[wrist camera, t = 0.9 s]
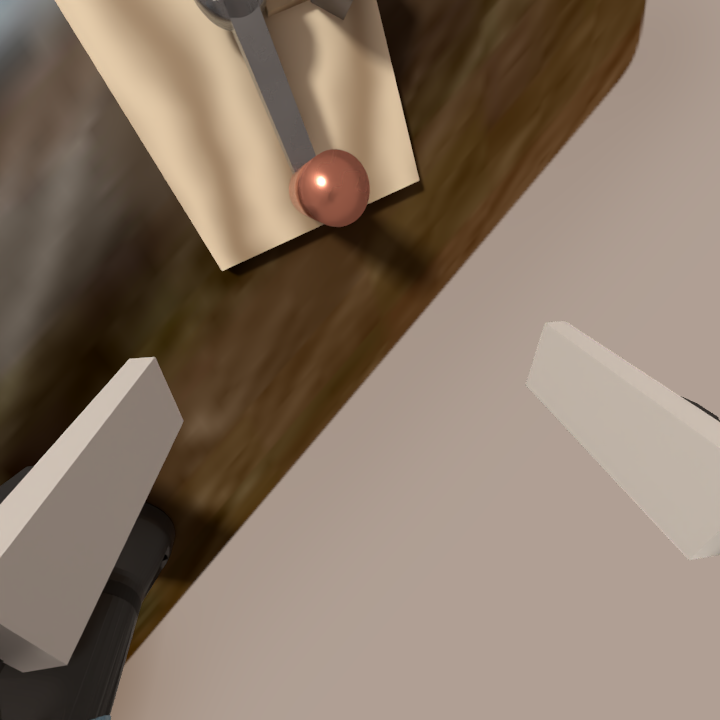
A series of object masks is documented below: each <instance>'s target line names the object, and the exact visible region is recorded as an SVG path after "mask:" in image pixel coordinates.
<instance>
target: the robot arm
mask: <svg viewBox="0 0 720 720" xmlns="http://www.w3.org/2000/svg"><path fill="white" fill-rule="evenodd" d="M526 386H527V387H528V388H529V389H530V390H531V392H533V394H534V395H535V396H536V397H537V398H538V399H539V400H540V401H541V402H542V403H543V404H544V405H545V407H546V408H547V409H548V410H549V411H550V412H551V413H552V414H553V415H554V416H555V417H556V418H557V419H558V420H559V422H560V423H561V424H562V425H563V426H564V427H565V428H566V429H567V430H568V431H569V432H570V433H571V434H572V436H573V437H574V438H575V439H576V440H577V441H578V442H579V443H580V444H581V445H582V446H583V447H584V448H585V449H586V450H587V452H588V453H589V454H590V455H591V456H592V457H593V458H594V459H595V460H596V461H597V462H598V463H599V464H600V466H601V467H602V468H603V469H604V470H605V471H606V472H607V473H608V474H609V475H610V476H611V477H612V478H613V479H614V481H615V482H616V483H617V484H618V485H619V486H620V487H621V488H622V489H623V490H624V491H625V492H626V493H627V495H629V497H630V498H631V499H632V500H633V501H634V502H635V503H636V504H637V505H638V506H639V507H640V508H641V510H642V511H643V512H644V513H645V514H646V515H647V516H648V517H649V518H650V519H651V520H652V521H653V522H654V523H655V525H656V526H657V527H658V528H659V529H660V530H661V531H662V532H663V533H664V534H665V535H666V536H667V537H668V538H669V540H670V541H671V542H672V543H673V544H674V545H675V546H676V547H677V548H678V549H679V550H680V551H681V552H682V554H684V555H685V557H686V558H687V559H688V560H693V559H699V558H705V557H711V556H717V555H719V554H720V420H719V419H718V417H717V416H716V415H714V414H713V413H711V412H709V411H708V410H706V409H705V408H703V407H702V406H700V405H699V404H697V403H695V402H692V401H690V400H688V399H686V398H684V397H681V396H679V395H678V394H676V393H675V392H673V391H672V390H670V389H668V388H667V387H665V386H664V385H662V384H661V383H659V382H658V381H656V380H655V379H653V378H652V377H650V376H649V375H647V374H645V373H644V372H642V371H641V370H639V369H638V368H636V367H635V366H633V365H632V364H630V363H628V362H627V361H626V360H624V359H623V358H621V357H620V356H618V355H616V354H615V353H613V352H612V351H610V350H609V349H607V348H606V347H604V346H603V345H601V344H600V343H598V342H597V341H595V340H594V339H592V338H590V337H589V336H587V335H586V334H584V333H583V332H581V331H580V330H578V329H577V328H575V327H574V326H572V325H571V324H569V323H568V322H566V321H560V322H549V323H545V324H544V328H543V331H542V334H541V337H540V340H539V344H538V346H537V350H536V353H535V356H534V359H533V362H532V365H531V369H530V372H529V375H528V378H527V381H526ZM182 423H183V419H182V417H181V414H180V412H179V410H178V408H177V405H176V403H175V401H174V399H173V396H172V394H171V392H170V390H169V387H168V385H167V383H166V381H165V378H164V376H163V374H162V371H161V369H160V367H159V365H158V362H157V360H156V358H155V357H147V358H136V359H129V360H128V361H127V362H126V363H125V364H124V366H123V367H122V368H121V369H120V370H119V371H118V372H117V373H116V375H115V376H114V377H113V378H112V379H111V380H110V381H109V382H108V384H107V385H106V386H105V387H104V388H103V389H102V390H101V391H100V393H99V394H98V395H97V396H96V397H95V398H94V399H93V400H92V402H91V403H90V404H89V405H88V406H87V407H86V408H85V410H84V411H83V412H82V413H81V414H80V415H79V416H78V417H77V419H76V420H75V421H74V422H73V423H72V424H71V425H70V426H69V428H68V429H67V430H66V431H65V432H64V433H63V434H62V435H61V437H60V438H59V439H58V440H57V441H56V442H55V443H54V444H53V446H52V447H51V448H50V449H49V450H48V451H47V452H46V453H45V455H44V456H43V457H42V458H41V459H40V460H39V461H38V462H37V464H36V465H35V466H30V467H26V468H25V469H23V470H22V471H21V472H19V473H18V474H16V475H15V476H14V477H12V478H11V479H10V480H8V481H7V482H6V483H4V484H3V485H1V486H0V720H111V716H110V713H111V710H112V706H113V703H114V699H115V696H116V692H117V688H118V685H119V681H120V678H121V674H122V671H123V667H124V664H125V660H126V657H127V653H128V650H129V646H130V642H131V639H132V635H133V632H134V628H135V625H136V621H137V617H138V614H139V611H140V608H141V604H142V601H143V600H144V598H145V597H146V595H147V593H148V592H149V590H150V589H151V587H152V585H153V584H154V582H155V580H156V579H157V577H158V575H159V574H160V572H161V570H162V569H163V567H164V566H165V564H166V563H167V561H168V559H169V557H170V554H171V551H172V547H173V543H174V539H175V529H174V525H173V523H172V521H171V520H170V518H169V517H168V516H167V515H166V514H165V513H164V512H162V511H161V510H159V509H158V508H156V507H154V506H152V505H150V504H148V503H145V501H146V499H147V497H148V495H149V492H150V490H151V488H152V486H153V484H154V482H155V480H156V478H157V476H158V474H159V472H160V469H161V467H162V465H163V463H164V461H165V459H166V457H167V455H168V453H169V451H170V448H171V446H172V444H173V442H174V440H175V438H176V436H177V434H178V432H179V430H180V427H181V425H182Z"/></svg>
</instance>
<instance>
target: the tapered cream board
mask: <svg viewBox="0 0 720 720" xmlns="http://www.w3.org/2000/svg"><path fill="white" fill-rule="evenodd" d="M55 1H56V3H57V5H58V6H59V8H60V9H61V11H62V13H63V14H64V16H65V18H66V19H67V21H68V22H69V24H70V26H71V27H72V29H73V31H74V32H75V34H76V35H77V37H78V39H79V40H80V42H81V43H82V45H83V47H84V48H85V50H86V52H87V53H88V55H89V56H90V58H91V60H92V61H93V63H94V65H95V66H96V68H97V69H98V71H99V73H100V74H101V76H102V77H103V79H104V81H105V82H106V84H107V86H108V87H109V89H110V90H111V92H112V94H113V95H114V97H115V99H116V100H117V102H118V103H119V105H120V107H121V108H122V110H123V111H124V113H125V115H126V116H127V118H128V120H129V121H130V123H131V124H132V126H133V128H134V129H135V131H136V132H137V134H138V136H139V137H140V139H141V141H142V142H143V144H144V145H145V147H146V149H147V150H148V152H149V154H150V155H151V157H152V158H153V160H154V162H155V163H156V165H157V166H158V168H159V170H160V171H161V173H162V175H163V176H164V178H165V179H166V181H167V183H168V184H169V186H170V188H171V189H172V191H173V192H174V194H175V196H176V197H177V199H178V200H179V202H180V204H181V205H182V207H183V209H184V210H185V212H186V213H187V215H188V217H189V218H190V220H191V222H192V223H193V225H194V226H195V228H196V230H197V231H198V233H199V234H200V236H201V238H202V239H203V241H204V243H205V244H206V246H207V247H208V249H209V251H210V252H211V254H212V256H213V257H214V259H215V260H216V262H217V264H218V265H219V267H220V268H221V270H222V271H223V270H226V269H228V268H230V267H232V266H234V265H237V264H239V263H241V262H243V261H245V260H247V259H250V258H252V257H254V256H256V255H258V254H260V253H263V252H265V251H267V250H269V249H271V248H274V247H276V246H278V245H280V244H282V243H284V242H287V241H289V240H291V239H293V238H295V237H298V236H300V235H302V234H304V233H306V232H308V231H311V230H313V229H315V228H317V227H319V226H321V225H324V224H323V223H321V222H319V221H316V220H314V219H312V218H310V217H307V216H305V215H303V214H301V213H300V212H299V211H298V210H297V209H296V208H295V207H294V205H293V204H292V202H291V199H290V195H289V183H290V179H291V177H292V175H293V174H292V172H291V169H290V167H289V165H288V162H287V160H286V157H285V155H284V153H283V150H282V148H281V146H280V143H279V141H278V139H277V136H276V134H275V132H274V129H273V127H272V125H271V122H270V120H269V117H268V115H267V113H266V110H265V108H264V106H263V103H262V101H261V99H260V96H259V94H258V92H257V89H256V87H255V84H254V82H253V80H252V77H251V75H250V73H249V70H248V68H247V66H246V63H245V61H244V59H243V56H242V54H241V52H240V49H239V47H238V44H237V42H236V40H235V37H234V35H233V33H232V32H231V31H227V30H225V29H222V28H220V27H218V26H217V25H215V24H214V23H212V22H211V21H210V20H209V19H208V18H207V17H206V16H205V15H204V14H203V13H202V12H201V10H200V9H199V8H198V6H197V4H196V3H195V1H194V0H55ZM262 15H263V18H264V20H265V23H266V25H267V28H268V31H269V33H270V36H271V39H272V41H273V44H274V47H275V49H276V52H277V54H278V57H279V60H280V62H281V65H282V68H283V70H284V73H285V75H286V78H287V81H288V83H289V86H290V89H291V91H292V94H293V97H294V99H295V102H296V104H297V107H298V110H299V112H300V115H301V118H302V120H303V123H304V126H305V128H306V131H307V133H308V136H309V139H310V141H311V144H312V147H313V149H314V152H315V154H316V156H317V155H318V154H320V153H322V152H324V151H326V150H331V149H338V150H343V151H346V152H348V153H350V154H352V155H353V156H355V157H356V158H357V159H358V160H359V161H360V162H361V164H362V165H363V167H364V169H365V170H366V173H367V175H368V179H369V185H370V194H369V200H368V203H367V204H369V203H372V202H374V201H376V200H378V199H380V198H382V197H385V196H387V195H389V194H391V193H393V192H395V191H398V190H400V189H402V188H404V187H406V186H409V185H411V184H413V183H415V182H417V181H419V176H418V172H417V168H416V164H415V159H414V155H413V151H412V147H411V143H410V139H409V134H408V130H407V126H406V122H405V118H404V113H403V109H402V105H401V101H400V97H399V93H398V88H397V84H396V80H395V76H394V72H393V67H392V63H391V59H390V55H389V51H388V47H387V42H386V38H385V34H384V30H383V26H382V21H381V17H380V13H379V9H378V5H377V1H376V0H266V6H265V9H264V12H263V14H262Z"/></svg>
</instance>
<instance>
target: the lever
mask: <svg viewBox="0 0 720 720" xmlns="http://www.w3.org/2000/svg"><path fill="white" fill-rule="evenodd" d="M194 1H195V3H196V4H197V6H198V8H199V9H200V10H201V12H202V13H203V14H204V15H205V16H206V17H207V18H208V19H209V20H210V21H211V22H212V23H214V24H215V25H217V26H218V27H220V28H222V29H225V30H227V31H231V32H232V33H233V35H234V37H235V40H236V42H237V44H238V47H239V49H240V52H241V54H242V56H243V59H244V61H245V63H246V66H247V68H248V70H249V73H250V75H251V77H252V80H253V82H254V84H255V87H256V89H257V92H258V94H259V96H260V99H261V101H262V103H263V106H264V108H265V110H266V113H267V115H268V117H269V120H270V122H271V125H272V127H273V129H274V132H275V134H276V136H277V139H278V141H279V143H280V146H281V148H282V150H283V153H284V155H285V157H286V160H287V162H288V165H289V167H290V169H291V172H292V174H293V175H292V177H291V179H290V183H289V195H290V199H291V202H292V204H293V205H294V207H295V208H296V209H297V210H298V211H299V212H300V213H301V214H303V215H305V216H307V217H310V218H312V219H314V220H316V221H319V222H321V223H323V224H326V225H328V226H333V227H342V226H346V225H349V224H351V223H353V222H354V221H356V220H357V219H358V218H359V217H360V216H361V215H362V213H363V212H364V210H365V208H366V206H367V203H368V200H369V194H370V185H369V179H368V175H367V173H366V170H365V169H364V167H363V165H362V164H361V162H360V161H359V160H358V159H357V158H356V157H355V156H353V155H352V154H350V153H348V152H346V151H343V150H338V149H331V150H326V151H324V152H322V153H320V154H318V155H317V156H316V154H315V152H314V149H313V147H312V144H311V141H310V139H309V136H308V133H307V131H306V128H305V126H304V123H303V120H302V118H301V115H300V112H299V110H298V107H297V104H296V102H295V99H294V97H293V94H292V91H291V89H290V86H289V83H288V81H287V78H286V75H285V73H284V70H283V68H282V65H281V62H280V60H279V57H278V54H277V52H276V49H275V47H274V44H273V41H272V39H271V36H270V33H269V31H268V28H267V25H266V23H265V20H264V18H263V15H262V14H263V12H264V9H265V6H266V0H194Z"/></svg>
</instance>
